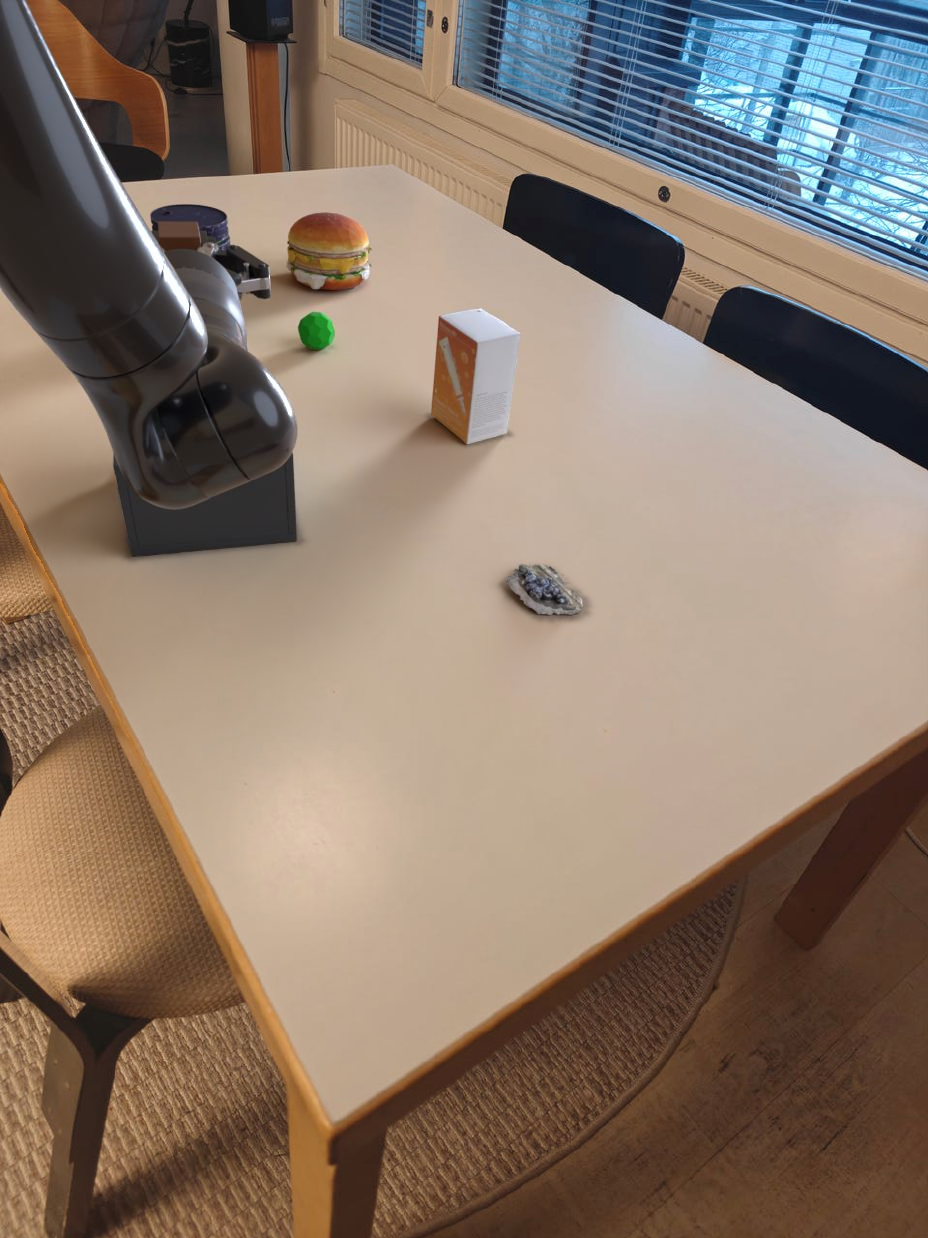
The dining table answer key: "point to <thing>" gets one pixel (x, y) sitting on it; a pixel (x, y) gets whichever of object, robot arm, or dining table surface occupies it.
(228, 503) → the waste bin
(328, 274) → the burger
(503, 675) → the dining table surface
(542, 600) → the grey flat lumpy piece
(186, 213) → the navy striped cylinder
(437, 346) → the small box
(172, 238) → the chocolate carton
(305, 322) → the polyhedron
